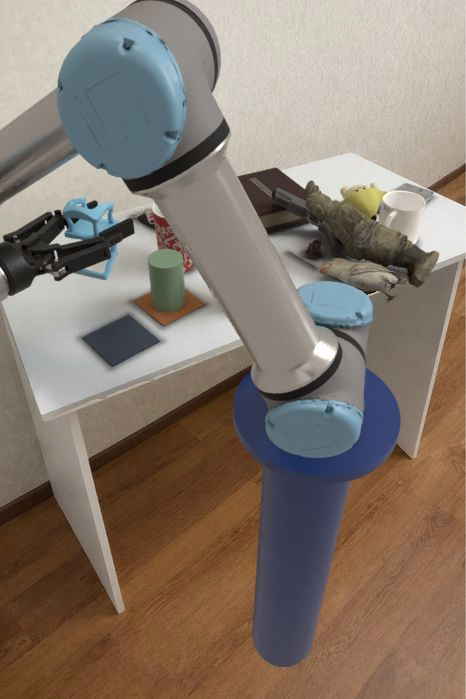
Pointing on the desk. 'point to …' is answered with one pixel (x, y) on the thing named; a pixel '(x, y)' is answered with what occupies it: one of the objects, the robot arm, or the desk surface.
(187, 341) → the desk surface
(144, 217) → the usb flash drive
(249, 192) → the book
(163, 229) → the mug
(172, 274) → the canister
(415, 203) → the mug
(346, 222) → the statue
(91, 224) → the chair
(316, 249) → the figurine
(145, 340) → the slate mat
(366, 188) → the toy
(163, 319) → the cork mat
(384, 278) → the decorative bird
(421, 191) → the phone
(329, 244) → the handgun
